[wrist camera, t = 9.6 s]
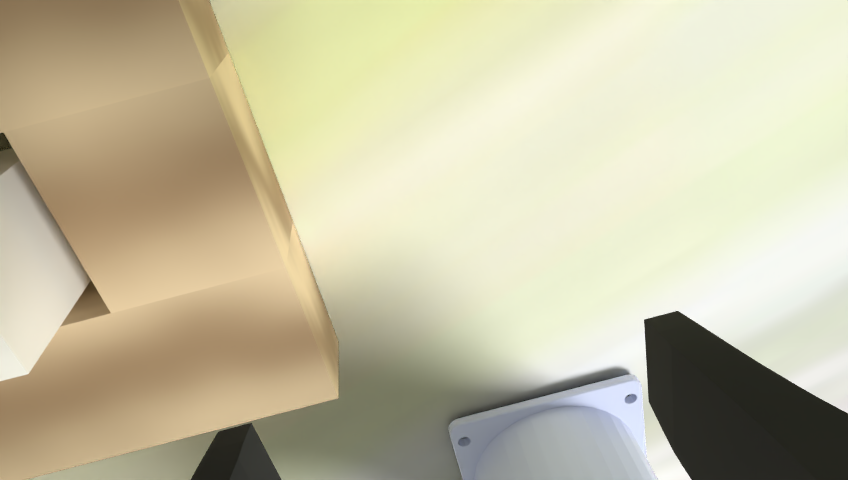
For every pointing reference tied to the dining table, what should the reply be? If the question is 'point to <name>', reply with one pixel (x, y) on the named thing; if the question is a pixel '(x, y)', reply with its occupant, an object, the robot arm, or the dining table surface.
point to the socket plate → (153, 237)
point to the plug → (31, 271)
